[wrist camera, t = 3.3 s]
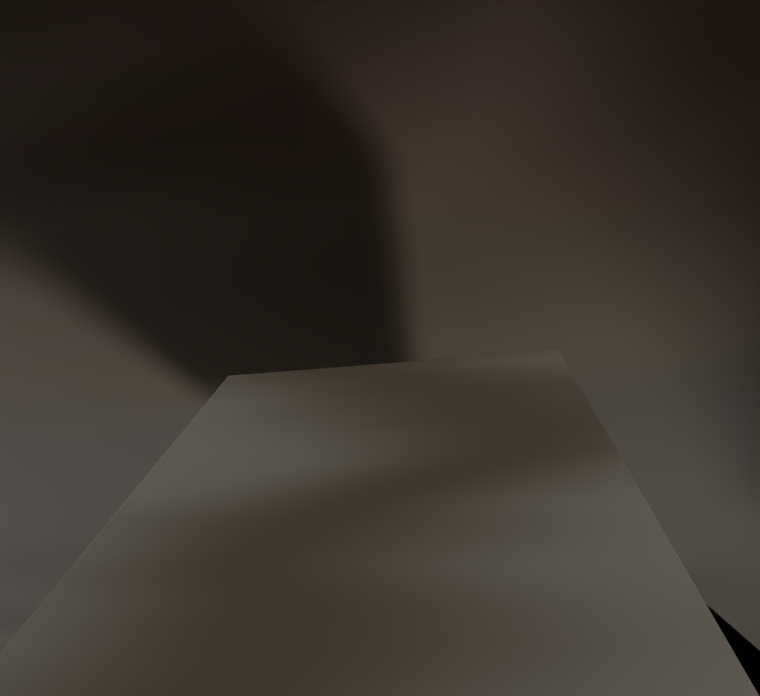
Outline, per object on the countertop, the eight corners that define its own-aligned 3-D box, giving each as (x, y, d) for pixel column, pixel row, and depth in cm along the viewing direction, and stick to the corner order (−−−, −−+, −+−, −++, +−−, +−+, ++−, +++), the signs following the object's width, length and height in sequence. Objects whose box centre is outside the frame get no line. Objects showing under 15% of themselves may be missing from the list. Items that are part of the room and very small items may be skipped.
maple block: (558, 350, 7) (795, 757, 2) (554, 598, 9) (682, 1079, 4) (228, 376, 8) (-68, 734, 3) (292, 601, 10) (168, 1021, 5)
